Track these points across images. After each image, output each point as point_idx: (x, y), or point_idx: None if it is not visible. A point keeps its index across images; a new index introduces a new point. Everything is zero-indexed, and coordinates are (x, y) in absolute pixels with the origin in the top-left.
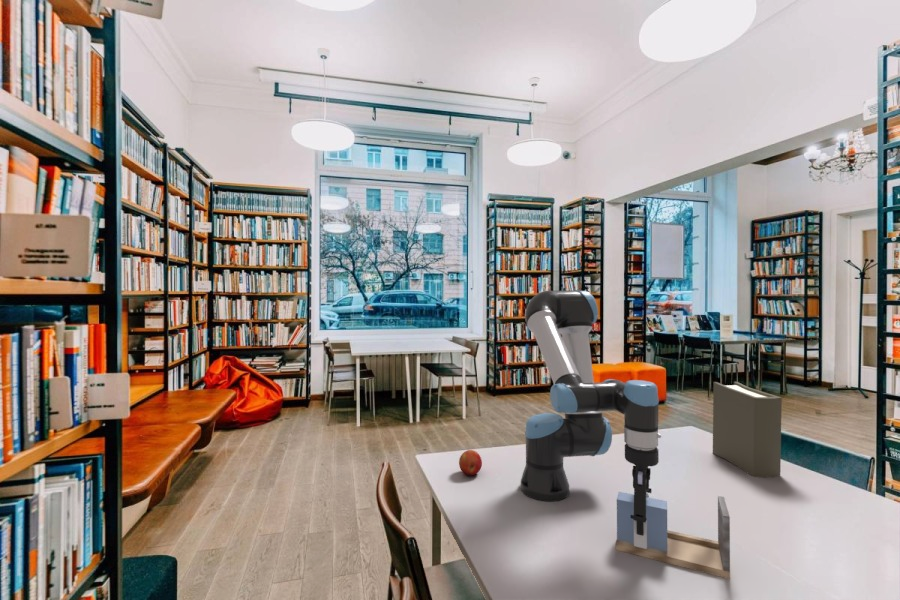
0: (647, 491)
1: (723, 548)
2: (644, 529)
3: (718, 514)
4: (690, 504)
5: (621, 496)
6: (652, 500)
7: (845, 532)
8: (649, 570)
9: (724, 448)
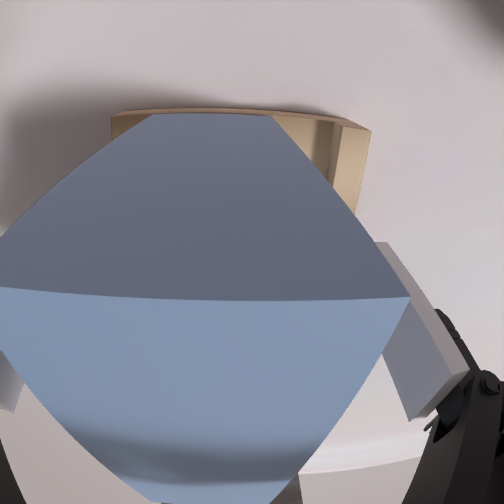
0: (432, 430)
1: None
2: None
3: (286, 496)
4: (494, 332)
5: (147, 363)
6: (239, 493)
7: (386, 453)
8: None
9: None
